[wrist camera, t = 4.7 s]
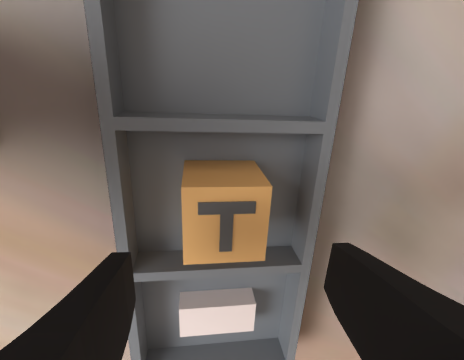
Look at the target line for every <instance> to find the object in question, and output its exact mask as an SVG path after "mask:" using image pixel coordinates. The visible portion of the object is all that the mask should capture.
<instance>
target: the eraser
mask: <svg viewBox="0 0 464 360" xmlns="http://www.w3.org/2000/svg"><path fill="white" fill-rule="evenodd" d="M255 311H256V302H255V298H254V294H253V291H252V288H237V289H221V290H205V291H189V292H180V300H179V327H180V337H188V336H200V335H212V334H223V333H235V332H247V331H254V321H255Z"/></svg>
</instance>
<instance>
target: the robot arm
mask: <svg viewBox="0 0 464 360" xmlns="http://www.w3.org/2000/svg"><path fill="white" fill-rule="evenodd" d="M324 289H325V292H326V294H327V297H328V299H329V302H330V304H331V306H332V308H333V310H334V313H335V315H336V316H337V318H338V320H339V322H340V324H341V325H342V327H343V329H344V330H345V332H346V334H347V336H348V337H349V339H350V341H351V342H352V344H353V346H354V348H355V349H356V351H357V353H358V354H359V356H360V358H361V359H362V360H464V305H462V304H460V303H458V302H456V301H454V300H452V299H450V298H448V297H446V296H444V295H442V294H440V293H438V292H436V291H434V290H432V289H431V288H429V287H427V286H425V285H423V284H421V283H419V282H418V281H416V280H414V279H412V278H410V277H409V276H407V275H405V274H403V273H402V272H400V271H398V270H396V269H395V268H393V267H391V266H389V265H388V264H386V263H384V262H382V261H381V260H379V259H377V258H376V257H374V256H372V255H370V254H369V253H367V252H365V251H363V250H361V249H360V248H358V247H356V246H354V245H352V244H350V243H333V245H332V249H331V254H330V259H329V264H328V269H327V274H326V279H325V283H324ZM135 303H136V295H135V286H134V277H133V267H132V258H131V252H115V253H111V254H110V255H109V256H108V257H107V258H105V259H104V260H103V261H102V262H101V263H100V264H99V265H98V266H97V267H96V268H95V269H94V270H93V271H92V272H91V273H90V274H89V275H88V276H87V277H86V278H85V279H84V280H83V281H82V282H81V283H79V284H78V285H77V286H76V287H75V288H74V289H73V290H72V291H71V292H70V293H69V294H68V295H67V296H65V297H64V298H63V299H62V300H61V301H60V302H59V303H58V304H57V305H55V306H54V307H53V308H52V309H51V310H50V311H48V312H47V313H46V314H45V315H44V316H43V317H41V318H40V319H39V320H38V321H37V322H36V323H34V324H33V325H32V326H31V327H30V328H28V329H27V330H26V331H25V332H23V333H22V334H21V335H20V336H18V337H17V338H16V339H15V340H13V341H12V342H11V343H9V344H8V345H7V346H5V347H4V348H3V349H1V350H0V360H122V357H123V353H124V350H125V347H126V343H127V340H128V337H129V333H130V330H131V324H132V319H133V314H134V308H135Z"/></svg>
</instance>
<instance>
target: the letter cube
mask: <svg viewBox="0 0 464 360" xmlns="http://www.w3.org/2000/svg"><path fill="white" fill-rule="evenodd" d="M272 187H273V186H272V185H271V184H270V182H269V181H268V179H267V178H266V177H265V175H264V174H263V172H262V171H261V170H260V168H259V167H258V165H257V164H256V162H255V161H251V160H185V161H184V169H183V177H182V185H181V199H182V235H183V265H191V264H212V263H232V262H252V261H265V255H266V245H267V236H268V226H269V216H270V207H271V197H272Z"/></svg>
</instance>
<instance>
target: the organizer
mask: <svg viewBox="0 0 464 360" xmlns="http://www.w3.org/2000/svg"><path fill="white" fill-rule="evenodd" d="M83 1H84V8H85V16H86V23H87V31H88V38H89V46H90V54H91V61H92V69H93V76H94V84H95V91H96V99H97V106H98V114H99V121H100V129H101V137H102V144H103V152H104V159H105V167H106V174H107V182H108V189H109V197H110V204H111V212H112V219H113V227H114V235H115V242H116V250H117V252H131V258H132V267H133V277H134V286H135V295H136V303H135V308H134V314H133V319H132V324H131V330H130V333H129V337H128V340H129V348H130V355H131V360H295V354H296V349H297V343H298V337H299V332H300V326H301V321H302V315H303V309H304V304H305V298H306V292H307V287H308V281H309V276H310V270H311V264H312V259H313V253H314V248H315V242H316V236H317V231H318V225H319V220H320V214H321V208H322V203H323V197H324V192H325V186H326V180H327V175H328V169H329V164H330V158H331V152H332V147H333V141H334V136H335V130H336V124H337V119H338V113H339V108H340V102H341V96H342V91H343V85H344V80H345V74H346V68H347V63H348V57H349V52H350V46H351V40H352V35H353V29H354V24H355V18H356V12H357V7H358V1H359V0H83ZM185 160H251V161H255V162H256V164H257V165H258V167H259V168H260V170H261V171H262V172H263V174H264V175H265V177H266V178H267V179H268V181H269V182H270V184H271V185H272V186H273V187H272V197H271V207H270V216H269V226H268V236H267V245H266V255H265V261H252V262H232V263H212V264H191V265H183V235H182V199H181V185H182V177H183V169H184V161H185ZM237 288H252V291H253V294H254V298H255V302H256V311H255V321H254V331H247V332H235V333H223V334H212V335H200V336H188V337H180V327H179V300H180V292H189V291H205V290H221V289H237Z"/></svg>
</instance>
